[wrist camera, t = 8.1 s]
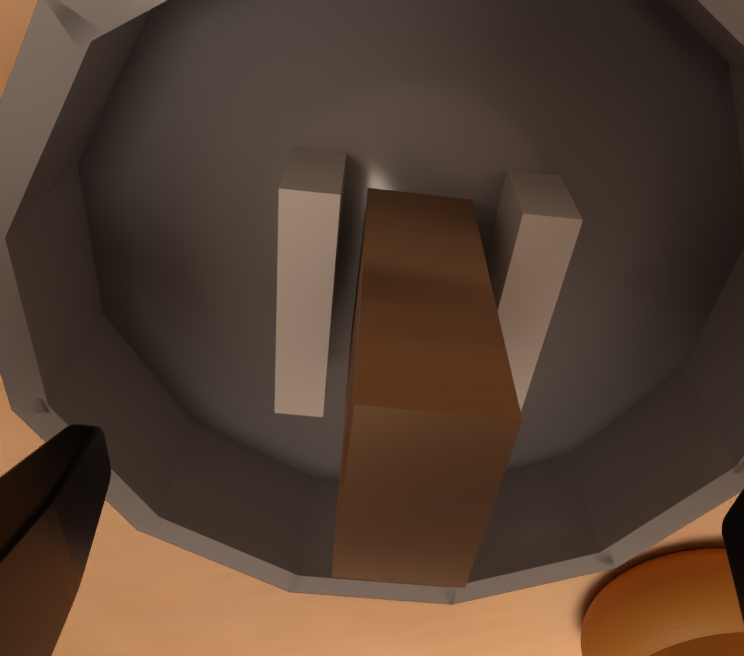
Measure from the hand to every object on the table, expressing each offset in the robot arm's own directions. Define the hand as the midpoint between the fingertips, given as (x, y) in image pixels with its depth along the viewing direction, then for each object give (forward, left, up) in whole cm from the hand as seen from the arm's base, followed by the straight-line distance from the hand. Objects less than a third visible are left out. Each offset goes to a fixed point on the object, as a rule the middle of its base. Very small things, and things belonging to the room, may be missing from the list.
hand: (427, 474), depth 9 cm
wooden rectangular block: (0, 0, -5) cm, 5 cm away
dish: (0, 0, -6) cm, 6 cm away
